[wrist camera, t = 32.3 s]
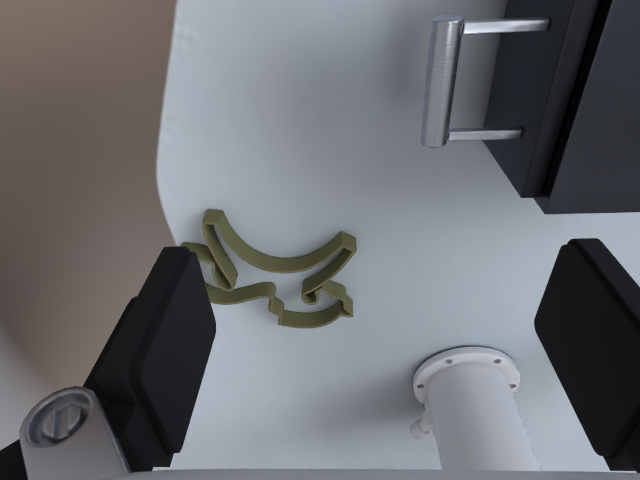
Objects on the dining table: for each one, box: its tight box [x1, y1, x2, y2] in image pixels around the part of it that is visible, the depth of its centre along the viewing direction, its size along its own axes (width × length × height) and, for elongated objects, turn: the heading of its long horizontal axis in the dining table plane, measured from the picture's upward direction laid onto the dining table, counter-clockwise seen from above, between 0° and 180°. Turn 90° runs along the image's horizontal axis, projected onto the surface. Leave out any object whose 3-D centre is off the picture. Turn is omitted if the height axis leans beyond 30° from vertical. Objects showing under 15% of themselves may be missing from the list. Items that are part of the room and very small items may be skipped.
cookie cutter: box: [182, 210, 357, 328], centre depth 42 cm, size 18×12×2 cm, turn 78°
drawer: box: [420, 0, 602, 198], centre depth 26 cm, size 22×13×9 cm, turn 93°
